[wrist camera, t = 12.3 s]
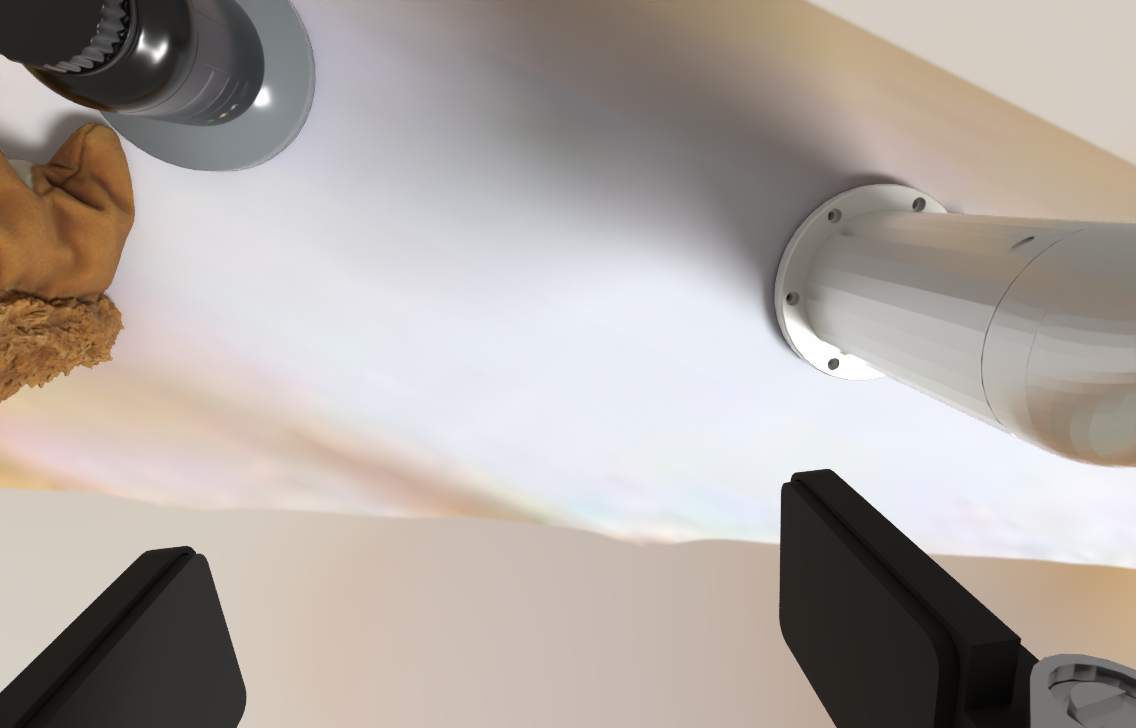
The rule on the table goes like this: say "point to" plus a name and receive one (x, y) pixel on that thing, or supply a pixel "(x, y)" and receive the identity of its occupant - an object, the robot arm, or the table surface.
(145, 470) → the table surface
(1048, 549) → the table surface
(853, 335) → the robot arm
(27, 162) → the stuffed squirrel
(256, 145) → the slate plate
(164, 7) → the supplement bottle
